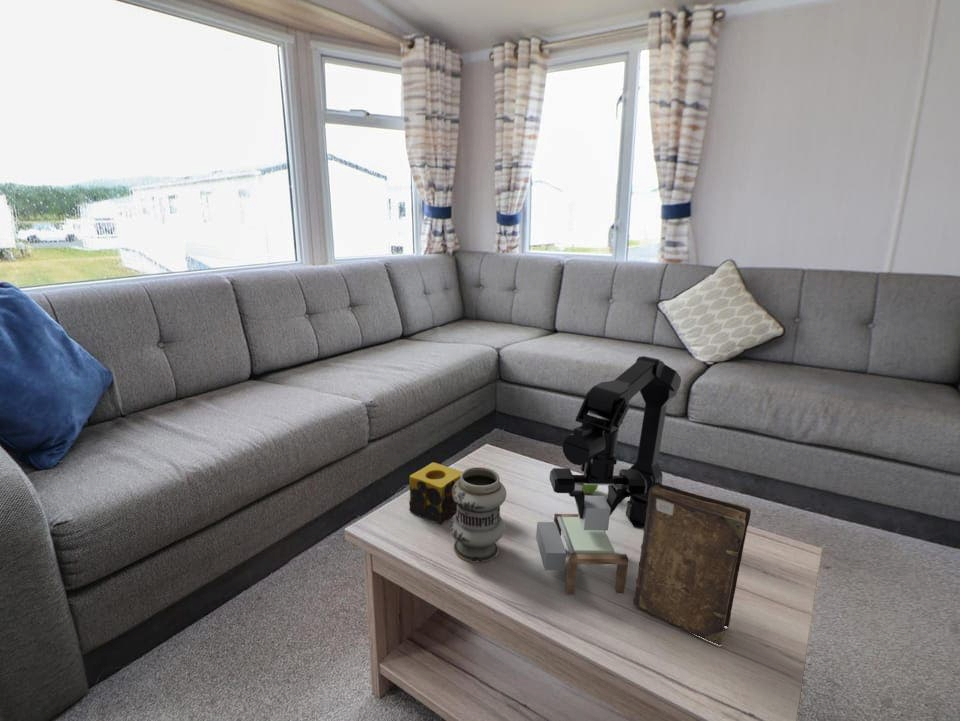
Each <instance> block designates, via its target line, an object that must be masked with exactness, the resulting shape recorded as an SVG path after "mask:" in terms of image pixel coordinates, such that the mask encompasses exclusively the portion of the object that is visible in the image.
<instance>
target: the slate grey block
mask: <svg viewBox="0 0 960 721" xmlns="http://www.w3.org/2000/svg"><path fill="white" fill-rule="evenodd" d="M610 510H611V508H610V506H609V505H608V503H607V498H606V497H605V496H604V495H585V500H584V513H583V517H582V519H580V517H579V514H578V513H577V514H578V518H579V520H580V522H581V525H582V527H583V529H584V530H606V531H609V524H610V519H611V518H610V517H611V515H610Z"/></svg>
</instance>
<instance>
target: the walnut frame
mask: <svg viewBox="0 0 960 721" xmlns="http://www.w3.org/2000/svg"><path fill="white" fill-rule="evenodd" d="M559 516H561V517H578V513H554V517H553V522H556V525H557V528H558V531H559V534H560V536H561V537H562V531H561V528H560V525H559V522H558V519H557V518H558V517H559ZM606 531H607V530H605V532H606ZM629 561H630V558H629V557H628V555H627V554H626V553H624V554H621V553H620V554H615V553H614V554H570V553H569V554H568V562H567V568H566V569H567V570H566V571H567V572H566V579H565V588H564V589H565V592H566V594H567V595H575V592H576V591H575V590H576V584H577V583H576V582H577V574H578V566H579V565H617V566H616V571H615V572H616V574H615V581H614V592H615V594H616V595H624V594H625V591H626V590H625V588H626V587H625V586H626V580H627V574H628V568H629Z"/></svg>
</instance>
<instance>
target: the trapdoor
mask: <svg viewBox="0 0 960 721" xmlns="http://www.w3.org/2000/svg"><path fill="white" fill-rule="evenodd" d="M557 519H558V522H559V525H560V528H561V534H562V535H563V536H562V535H561V536H560V534H559V531H558V528H557V525H556V522H554V521H536V534H535V539H536V543H537V546H538V550H539V554H540V557H541V562H542V565H543V568H544V571H566V570H565V569H566V560H567V551H566V549H565V545H564V542H563V540H562V537H563V538H564V541H565V543H566V547H567V549H568V552H569V554H615V552H616V551H615V548H614V547H613V544H612V543H611V540H610V539H609V537H608V535H607V532H606V531H605V530H584V529H583V527H582V525H581V522H580V520H579V518H578V517H561V516H559V517H558V518H557Z"/></svg>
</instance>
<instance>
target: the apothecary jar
mask: <svg viewBox="0 0 960 721" xmlns="http://www.w3.org/2000/svg"><path fill="white" fill-rule="evenodd" d="M500 480H501V479H500V476H499V474H498V472H496V471H495V470H493V469H491V468H488V467H485V468H484V467H483V466H475V467H470V468H467V469H465V470H463V471H462V473H461V475H460V479H459V480H458V481H457V482H456V483H455V484H454V486H453V488H452V497H453V499H454V501H455V502H456V503H457V509H456V514H455V515H454V516H452V517H451V518H450V519H451V520H450V522H449V531H450V533H451V536H452V537H453V538H454V539H455V540H456V541H455V542H454V544H453V551H454V553H455V554H456V556H457V557H459V559H461V560H464V561H467V562H468V563H469V562H471V563H474V562H480V563H485V562H488V561H491V560H492V559H495V558H496V556H497V555H498V554H499V553H498V552H499V547H498V544H497V542H498V541H499V540H501V538H502V537H503V536H504V533H505V530H506V525H505V522H504V519H503V518H502V516H501V514H500V513H501V512H500V511H501V505H503V503H504V502H505V501H506V498H507V489H506V487H505V485H504V484H503V483H502V482H501V481H500Z"/></svg>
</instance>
